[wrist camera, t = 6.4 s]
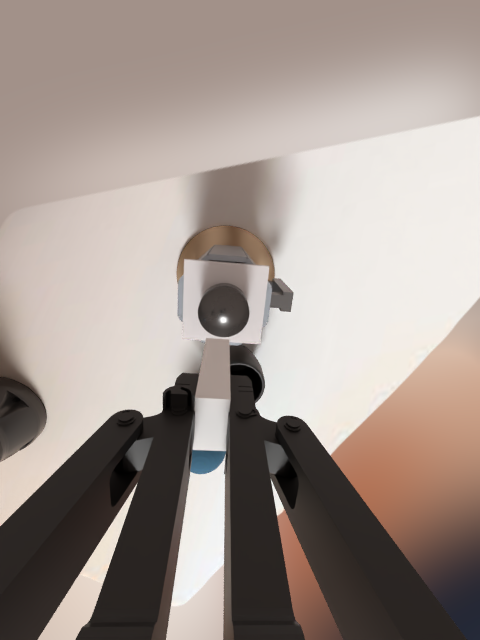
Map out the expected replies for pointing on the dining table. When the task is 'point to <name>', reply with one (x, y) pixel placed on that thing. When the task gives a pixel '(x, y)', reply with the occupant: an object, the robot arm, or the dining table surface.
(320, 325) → the dining table surface
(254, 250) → the cork trivet
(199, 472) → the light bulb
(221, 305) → the plunger
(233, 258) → the carafe
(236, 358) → the mug
